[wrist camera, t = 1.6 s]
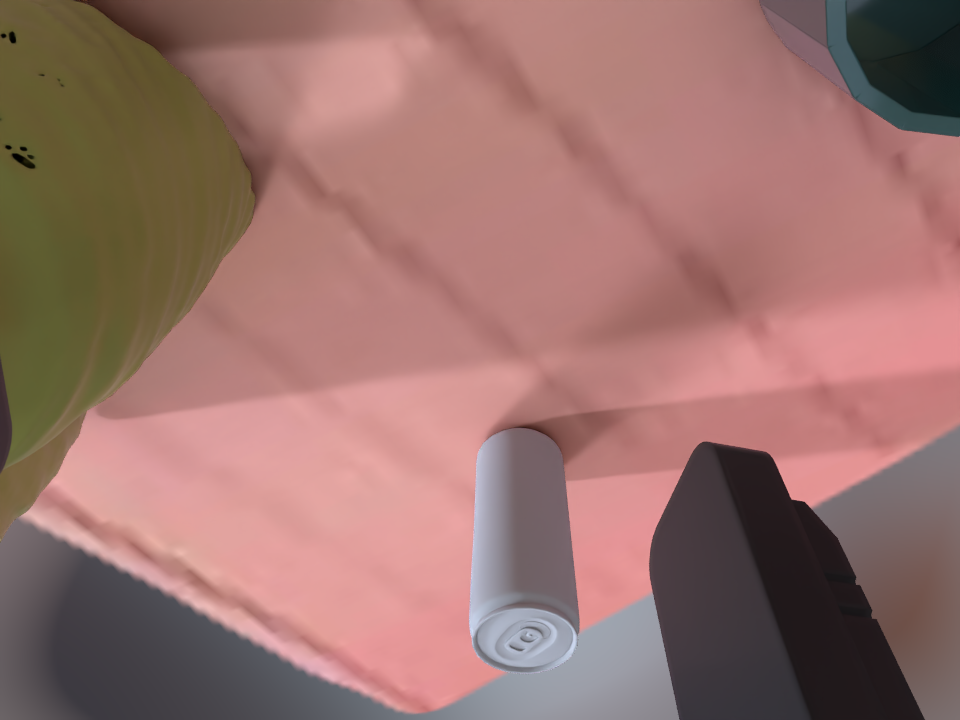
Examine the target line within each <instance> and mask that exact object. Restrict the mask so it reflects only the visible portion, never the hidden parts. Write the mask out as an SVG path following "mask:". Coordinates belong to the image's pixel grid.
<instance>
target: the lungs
mask: <svg viewBox="0 0 960 720" xmlns="http://www.w3.org/2000/svg"><path fill="white" fill-rule="evenodd" d="M251 183H252V179H251V173H250V171H249V169H248V168H247V166H246V165H245V164H244V161H243V158H242V154H241V151H240V149H239V147H238V144H237V143H236V141H235V140H234V139H233V137H232V136H231V135H230V133H229V132H228V130H227V128H226V126H225V124H224V122H223V121H222V119H221V117H220V116H219V115H218V114H217V113H216V112H215V111H214V110H213V109H212V108H211V107H210V106H209V104H208V103H207V101H206V100H205V98H204V97H203V95H202V94H201V92H200V91H199V89H198V88H197V87H196V85H195V84H194V83H193V82H192V81H191V80H190V78H189V77H187V76H185V75H184V74H183V73H181V72H180V71H178V70H177V69H176V68H175V67H174V66H172V65H171V64H170V63H169V62H168V61H167V60H166V59H165V58H164V57H163V56H162V55H161V54H160V52H159V51H158V50H156V49H155V48H154V47H153V46H151V45H150V44H148V43H146V42H144V41H142V40H140V39H138V38H135V37H134V36H132V35H131V34H130V33H129V32H127V31H126V30H124V29H123V28H121V27H120V26H118V25H117V24H115V23H114V22H113V21H111V20H110V19H109V18H108V17H106V16H105V15H104V14H103V13H101V12H100V11H99V10H97V9H96V8H94V7H93V6H90V5H87V4H85V3H82V2H78V1H74V0H0V357H1V363H2V368H3V374H4V380H5V386H6V392H7V397H8V403H9V409H10V415H11V421H12V441H11V447H10V451H9V455H8V458H7V461H6V463H5V466H4V468H3V470H2V472H1V474H0V542H1V540H2V538H3V536H4V535H5V533H6V531H7V530H8V528H9V526H10V525H11V523H12V522H13V521H14V520H15V519H16V518H18V517H19V516H21V515H22V514H24V513H25V512H27V511H28V510H29V509H30V508H31V506H32V505H33V504H34V502H35V501H36V499H37V497H38V496H39V494H40V493H41V492H42V491H43V490H44V489H45V487H46V486H47V485H48V484H49V483H50V481H51V480H52V479H53V478H54V477H55V476H56V474H57V473H58V471H59V469H60V467H61V465H62V462H63V460H64V458H65V456H66V453H67V452H68V450H69V449H70V447H71V446H72V444H73V443H74V442H75V440H76V439H77V437H78V436H79V434H80V430H81V426H82V423H83V420H84V418H85V415H86V413H87V410H89V409H91V408H93V407H94V406H96V405H98V404H99V403H101V402H102V401H104V400H106V399H107V398H108V397H110V396H111V395H112V394H113V393H114V392H116V391H117V390H118V389H119V388H120V387H121V386H122V385H123V384H124V383H125V382H126V381H128V380H129V379H130V378H131V377H132V376H133V375H134V374H135V372H136V371H137V370H138V369H139V368H140V366H141V365H142V363H143V361H144V360H145V359H146V358H147V357H148V356H149V355H150V354H151V353H152V352H153V351H154V350H155V349H156V348H157V346H158V345H159V344H160V343H161V341H162V340H163V339H164V338H165V337H166V336H167V334H168V333H169V332H170V331H171V329H172V328H173V327H174V326H176V325H177V324H178V323H179V322H180V321H181V320H182V318H183V317H184V316H185V315H186V314H187V313H188V312H189V311H190V310H191V308H192V307H193V305H194V303H195V302H196V300H197V299H198V298H199V296H200V295H201V294H202V292H203V291H204V289H205V288H206V286H207V284H208V283H209V281H210V280H211V278H212V277H213V275H214V273H215V271H216V269H217V267H218V266H219V264H220V262H221V261H222V259H223V258H224V257H225V256H226V255H227V254H228V253H229V252H230V251H231V249H232V248H233V247H234V246H235V245H236V243H237V242H238V241H239V239H240V238H241V237H242V235H243V234H244V233H245V231H246V230H247V228H248V226H249V225H250V223H251V220H252V218H253V207H254V204H255V194H254V192H253V191H252V190H251Z"/></svg>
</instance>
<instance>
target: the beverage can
mask: <svg viewBox="0 0 960 720" xmlns="http://www.w3.org/2000/svg"><path fill="white" fill-rule="evenodd" d="M469 625H470V634H471V636H472V646H473V648H474V650H475V652H476V654H477V656H478V657H479V658H480V659H481V660H483V661H484V662H485V663H486V664H488V665H490V666H492V667H493V668H496V669H499V670H502V671H505V672H510V673H517V674H533V673H539V672H544V671H548V670H551V669H553V668H556V667H558V666H560V665H561V664H563V663H565V662H566V661H567V660H568V659H569V658H570V657H571V656H572V655H573V654H574V652H575V650H576V648H577V646H578V633H579V610H578V600H577V590H576V580H575V571H574V561H573V551H572V541H571V531H570V521H569V512H568V502H567V492H566V482H565V472H564V462H563V456H562V453H561V450H560V448H559V447H558V446H557V444H556V443H555V442H554V441H553V440H552V439H550V438H549V437H548V436H546V435H545V434H543V433H540V432H538V431H535V430H533V429H527V428H511V429H507V430H503V431H501V432H499V433H497V434H495V435H492V436H491V437H490V438H489V439H487V440H486V441H485V442H484V443H483V445H482V446H481V448H480V450H479V452H478V456H477V461H476V490H475V517H474V538H473V554H472V571H471V589H470V613H469Z"/></svg>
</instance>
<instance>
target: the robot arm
mask: <svg viewBox="0 0 960 720" xmlns="http://www.w3.org/2000/svg"><path fill="white" fill-rule="evenodd" d="M11 441H12V421H11V415H10V409H9V403H8V397H7V392H6V386H5V380H4V374H3V368H2V363H1V357H0V474H1V472H2V470H3V468H4V466H5V463H6V461H7V458H8V455H9V451H10V447H11ZM649 571H650V580H651V585H652V590H653V595H654V600H655V605H656V609H657V614H658V619H659V623H660V628H661V633H662V638H663V643H664V647H665V652H666V657H667V662H668V667H669V671H670V676H671V681H672V686H673V690H674V695H675V700H676V705H677V710H678V714H679V719H680V720H925V719H924V717H923V715H922V713H921V711H920V709H919V707H918V705H917V702H916V700H915V698H914V696H913V694H912V692H911V690H910V688H909V686H908V684H907V682H906V680H905V678H904V675H903V674H902V671H901V669H900V667H899V665H898V663H897V661H896V659H895V657H894V655H893V653H892V650H891V648H890V646H889V644H888V642H887V640H886V638H885V636H884V634H883V632H882V630H881V628H880V626H879V623H878V622H877V619H872V617H871V613H872V609H871V607H870V605H869V603H868V601H867V599H866V597H865V594H864V592H863V590H862V588H861V586H860V585H856V583H855V580H856V576H855V574H854V572H853V569H852V567H851V565H850V563H849V561H848V559H847V557H846V555H845V553H844V551H843V549H842V547H841V545H840V543H839V540H838V538H837V537H836V536H835V535H834V534H833V533H832V532H831V530H829V528H828V527H827V526H826V525H825V524H824V523H823V522H822V520H821V519H820V518H819V517H818V516H817V515H816V514H815V513H814V512H813V510H812V509H811V508H810V507H809V506H808V505H807V504H806V503H805V502H802V501H796V500H791V498H790V495H789V493H788V491H787V489H786V486H785V484H784V482H783V480H782V477H781V475H780V473H779V471H778V468H777V466H776V464H775V462H774V460H773V458H772V457H771V456H770V455H769V454H768V453H767V452H763V451H758V450H752V449H746V448H741V447H735V446H729V445H723V444H717V443H711V442H702V443H700V444H699V445H698V446H697V447H696V448H695V450H694V451H693V453H692V455H691V456H690V458H689V461H688V463H687V465H686V467H685V469H684V471H683V473H682V475H681V477H680V479H679V481H678V483H677V485H676V488H675V490H674V492H673V494H672V496H671V498H670V500H669V502H668V504H667V506H666V508H665V510H664V512H663V515H662V517H661V519H660V521H659V523H658V525H657V527H656V530H655V532H654V535H653V539H652V544H651V549H650V561H649Z"/></svg>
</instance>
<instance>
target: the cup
mask: <svg viewBox="0 0 960 720" xmlns="http://www.w3.org/2000/svg"><path fill="white" fill-rule="evenodd" d="M759 2H760V6H761V8H762V10H763V13H764V15H765V17H766V19H767V21H768V23H769V24H770V26H771V27H772V29H773V30H774V32H775V33H776V35H777V36H778V37H779V38H780V39H781V40H782V42H783V44H784V45H785V46H786V47H787V48H788V49H789V50H791V51H792V52H793V53H794V54H796V55H797V56H798V57H800V58H801V59H802V60H804V61H805V62H806V63H807V64H809V65H810V66H811V67H813V68H814V69H815V70H817V71H818V72H819V73H820V74H822V75H823V76H824V77H826V78H827V79H828V80H830V81H831V82H832V83H833V84H835V85H836V86H837V87H839V88H840V89H841V90H843V91H844V92H845V93H846V94H848V95H849V96H850V97H852V98H853V99H854V100H856V101H857V102H859V103H860V104H862V105H863V106H865V107H866V108H868V109H869V110H871V111H872V112H874V113H875V114H877V115H878V116H880V117H881V118H883V119H884V120H886V121H887V122H889V123H890V124H892V125H894V126H895V127H897V128H898V129H901V130H906V131H914V132H922V133H931V134H939V135H947V136H955V137H959V136H960V0H759Z"/></svg>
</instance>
